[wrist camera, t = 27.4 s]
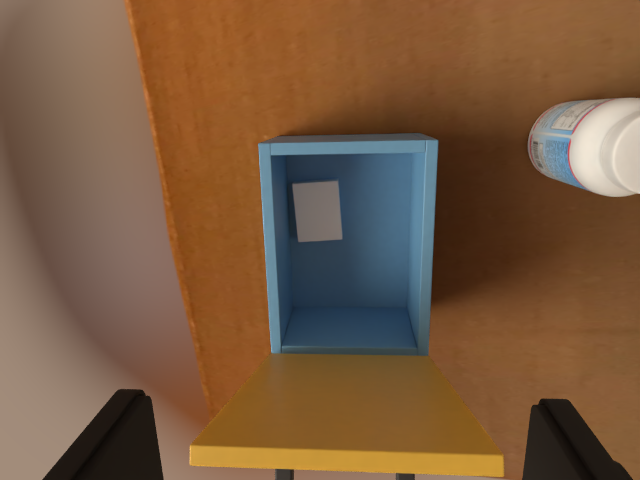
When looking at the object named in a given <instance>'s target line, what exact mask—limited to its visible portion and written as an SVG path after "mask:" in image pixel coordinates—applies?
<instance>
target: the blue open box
mask: <svg viewBox="0 0 640 480" xmlns="http://www.w3.org/2000/svg"><path fill="white" fill-rule="evenodd" d="M258 147H259V163H260V179H261V195H262V211H263V227H264V243H265V259H266V275H267V291H268V307H269V324H270V340H271V353H279V354H343V355H406V356H428V350H429V329H430V308H431V287H432V266H433V245H434V224H435V202H436V181H437V160H438V140H437V139H434V138H432V137H429V136H427V135H424V134H422V133H399V134H353V135H307V136H277V137H275V138H272V139H269V140H267V141H264V142H261V143H259V144H258ZM337 178H338V183H339V196H340V210H341V223H342V239H341V240H325V241H309V242H298V235H297V225H296V215H295V206H294V196H293V187H292V184H293V183H294V182H298V181H311V180H324V179H337Z"/></svg>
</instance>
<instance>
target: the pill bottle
mask: <svg viewBox="0 0 640 480" xmlns="http://www.w3.org/2000/svg"><path fill="white" fill-rule="evenodd" d="M528 153H529V157H530V160H531V162H532V163H533V165H534V166H535V168H536V169H537V170H538V171H539V172H541V173H542V174H544V175H545V176H547V177H550V178H552V179H555V180H558V181H561V182H564V183H567V184H570V185H573V186H576V187H579V188H582V189H585V190H588V191H591V192H594V193H596V194H600V195H604V196H610V197H622V196H629V195H633V194H637V193H638V194H640V98H613V99H596V100H582V101H569V102H564V103H560V104H557V105H555V106H553V107H551V108H549V109H548V110H547V111H545V112H544V113H543V114H542V115H541V116H540V117H539V118H538V119H537V120H536V122H535V123H534V125H533V127H532V129H531V131H530V134H529V138H528Z"/></svg>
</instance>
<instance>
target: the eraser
mask: <svg viewBox="0 0 640 480" xmlns="http://www.w3.org/2000/svg"><path fill="white" fill-rule="evenodd" d="M292 187H293V196H294V206H295V215H296V225H297V235H298V242H309V241H325V240H341V239H342V223H341V210H340V196H339V183H338V178H337V179H324V180H311V181H298V182H294V183H293V184H292Z"/></svg>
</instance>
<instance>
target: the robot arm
mask: <svg viewBox="0 0 640 480" xmlns="http://www.w3.org/2000/svg"><path fill="white" fill-rule="evenodd" d="M43 480H163V473H162V466H161V460H160V453H159V446H158V439H157V434H156V427H155V419H154V413H153V406H152V400H151V398H150V396H146V395H145V393H144V391H143V390H136V389H120V390H118V391H116V392H115V394H114V395H113V396H112V397H111V398H110V400H109V401H108V402H107V403H106V404H105V406H104V407H103V408H102V409H101V410H100V412H99V413H98V414H97V415H96V416H95V417H94V419H93V420H92V421H91V422H90V424H89V425H88V426H87V427H86V428H85V430H84V431H83V432H82V433H81V434H80V435H79V437H78V438H77V439H76V440H75V441H74V443H73V444H72V445H71V446H70V447H69V448H68V450H67V451H66V452H65V453H64V455H63V456H62V457H61V458H60V459H59V460H58V462H57V463H56V464H55V465H54V466H53V468H52V469H51V470H50V471H49V472H48V474H47V475H46V476H45V477H44V478H43ZM522 480H633V479H632V478H631V477H630V475H629V474H628V472H627V471H626V470H625V469H624V468H623V467H622V465H621V464H620V463H618V462H616V461H613V459H612V458H611V457H610V455H609V454H608V453H607V451H606V450H605V448H604V447H603V446H602V444H601V443H600V442H599V440H598V439H597V438H596V436H595V435H594V434H593V432H592V431H591V429H590V428H589V427H588V425H587V424H586V423H585V421H584V420H583V419H582V417H581V416H580V414H579V413H578V412H577V410H576V409H575V408H574V406H573V405H572V404H571V402H570V401H569V400H567V399H541V400H540V401H539V404H538V405H533V406H532V408H531V414H530V422H529V430H528V438H527V446H526V454H525V462H524V470H523V478H522Z"/></svg>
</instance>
